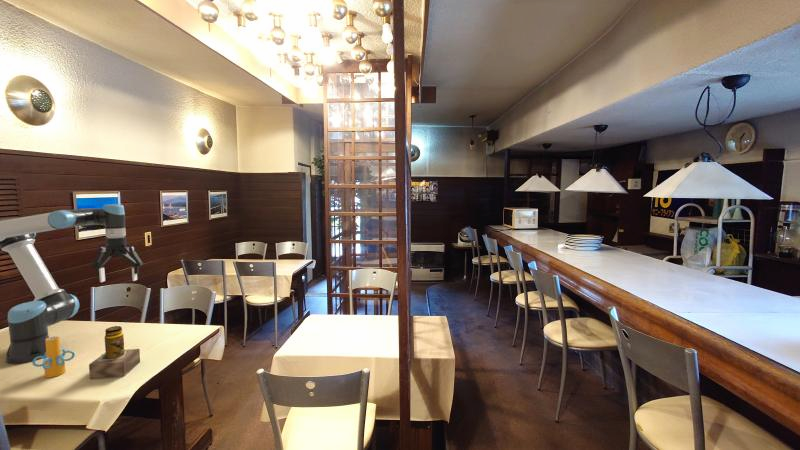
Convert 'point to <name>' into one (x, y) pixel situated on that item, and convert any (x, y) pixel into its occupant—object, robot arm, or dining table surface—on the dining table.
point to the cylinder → (53, 358)
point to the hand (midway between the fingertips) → (118, 281)
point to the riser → (115, 365)
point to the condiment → (113, 344)
